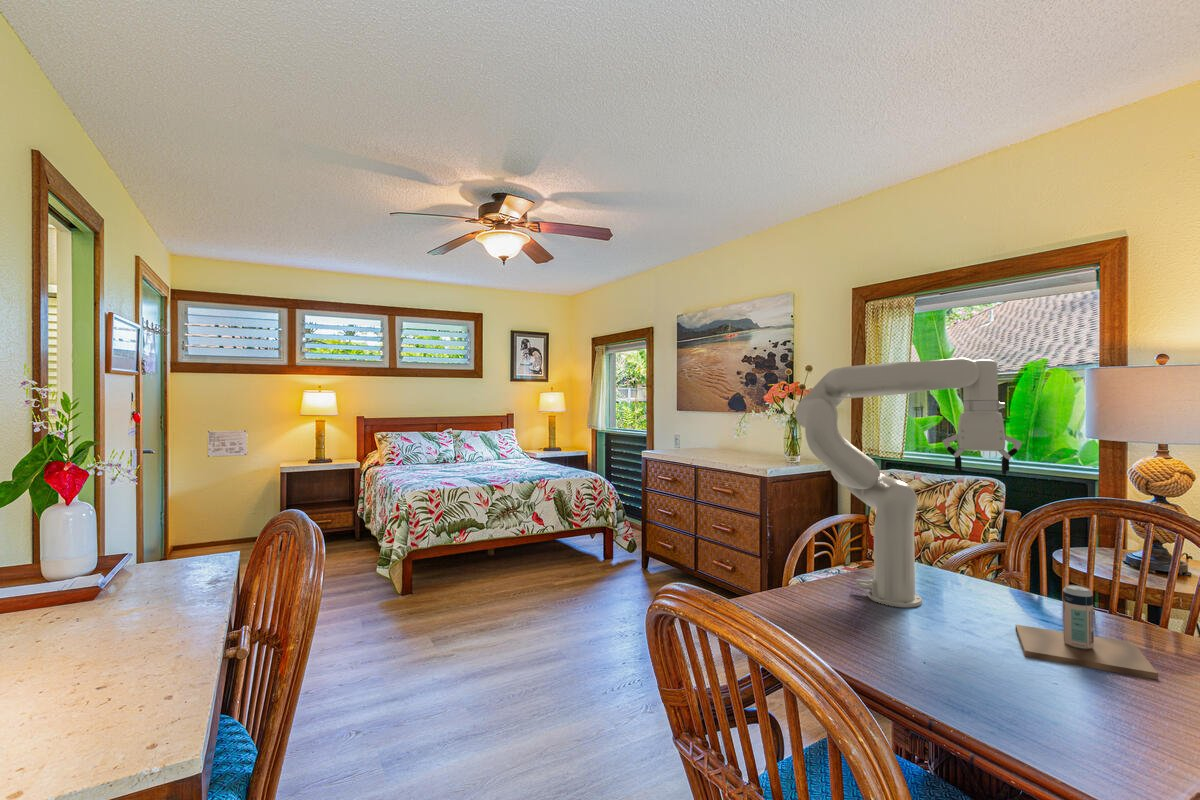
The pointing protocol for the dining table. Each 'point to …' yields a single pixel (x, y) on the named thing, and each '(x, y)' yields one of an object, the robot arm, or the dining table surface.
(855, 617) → the dining table surface
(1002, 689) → the dining table surface
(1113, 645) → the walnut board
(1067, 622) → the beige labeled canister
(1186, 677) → the dining table surface
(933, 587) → the dining table surface
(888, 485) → the robot arm
